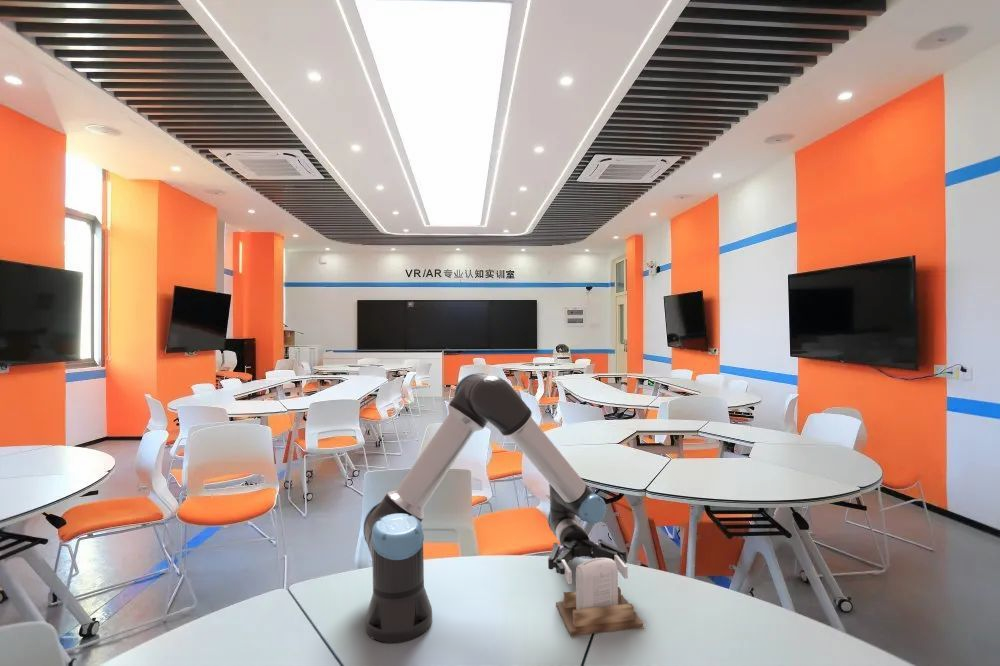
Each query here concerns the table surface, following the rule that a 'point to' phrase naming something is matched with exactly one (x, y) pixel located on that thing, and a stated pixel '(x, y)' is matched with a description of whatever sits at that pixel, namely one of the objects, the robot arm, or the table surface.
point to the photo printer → (596, 583)
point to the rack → (597, 616)
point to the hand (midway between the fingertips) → (598, 575)
